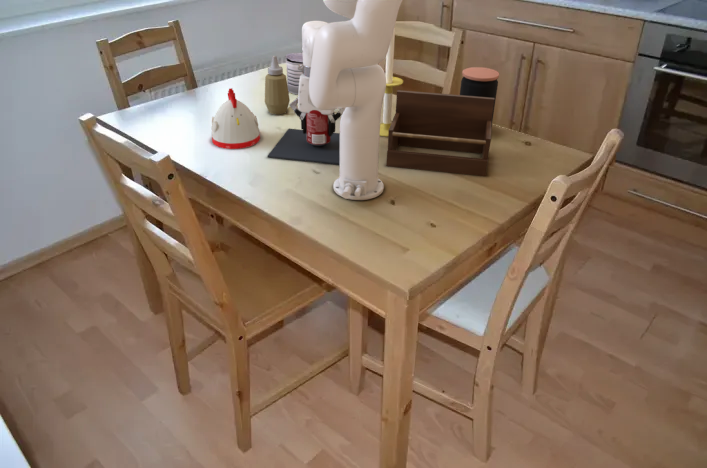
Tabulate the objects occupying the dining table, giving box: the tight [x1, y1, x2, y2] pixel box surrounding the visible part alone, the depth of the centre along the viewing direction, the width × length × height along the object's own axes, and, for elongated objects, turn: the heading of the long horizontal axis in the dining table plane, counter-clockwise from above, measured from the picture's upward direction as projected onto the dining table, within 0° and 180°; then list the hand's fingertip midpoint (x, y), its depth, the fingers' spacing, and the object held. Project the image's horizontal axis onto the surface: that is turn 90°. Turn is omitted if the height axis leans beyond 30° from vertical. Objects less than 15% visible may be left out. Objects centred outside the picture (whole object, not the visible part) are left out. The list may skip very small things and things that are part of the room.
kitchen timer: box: [210, 87, 261, 150], centre depth 168 cm, size 14×14×15 cm
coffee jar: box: [459, 66, 500, 128], centre depth 175 cm, size 11×11×18 cm
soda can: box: [306, 110, 330, 146], centre depth 164 cm, size 7×7×12 cm
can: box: [284, 52, 303, 96], centre depth 206 cm, size 11×11×12 cm
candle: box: [379, 28, 404, 138], centre depth 170 cm, size 10×10×32 cm
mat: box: [267, 128, 340, 166], centre depth 167 cm, size 20×24×1 cm
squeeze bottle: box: [264, 55, 291, 115], centre depth 186 cm, size 8×8×18 cm
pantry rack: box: [385, 89, 494, 177], centre depth 158 cm, size 15×26×16 cm, turn 78°
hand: (318, 132), depth 165 cm, fingers closed on soda can, 6 cm apart
